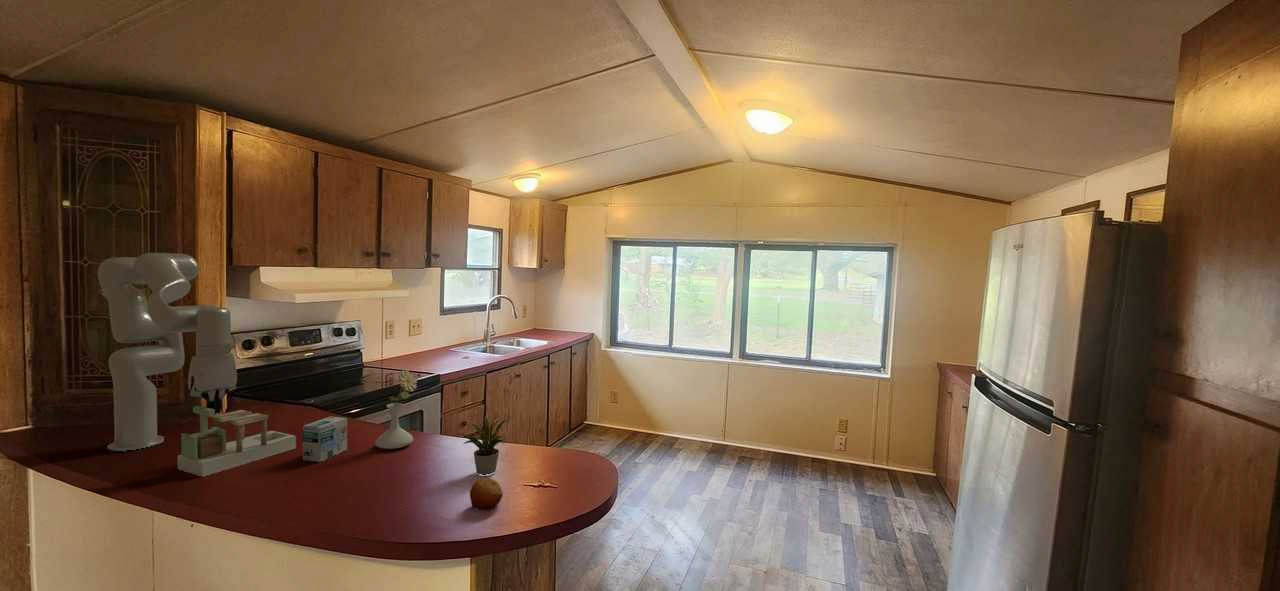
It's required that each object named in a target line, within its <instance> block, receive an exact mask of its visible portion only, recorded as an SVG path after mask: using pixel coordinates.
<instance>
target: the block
mask: <svg viewBox="0 0 1280 591" xmlns="http://www.w3.org/2000/svg"><path fill="white" fill-rule="evenodd" d="M197 449H198V458H200V459H203V458H206V457H210V456H213V455H217V454H220V453H222V436H220V435H216V434H206V435H202V436H198V437H197Z"/></svg>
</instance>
